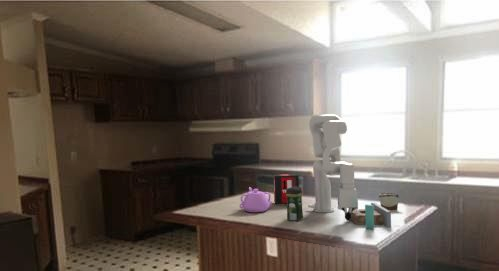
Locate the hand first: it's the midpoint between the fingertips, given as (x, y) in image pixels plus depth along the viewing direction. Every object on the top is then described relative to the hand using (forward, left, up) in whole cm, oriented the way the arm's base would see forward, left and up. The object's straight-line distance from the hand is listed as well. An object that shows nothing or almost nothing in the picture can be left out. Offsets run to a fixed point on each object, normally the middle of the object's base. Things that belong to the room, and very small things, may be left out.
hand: (347, 219), depth 187 cm
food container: (+32, +29, -2) cm, 43 cm away
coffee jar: (-28, +9, -2) cm, 29 cm away
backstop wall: (+18, 0, -1) cm, 18 cm away
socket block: (+10, 0, -1) cm, 10 cm away
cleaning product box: (-29, +54, -2) cm, 61 cm away
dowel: (+7, -14, -1) cm, 16 cm away
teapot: (-51, +36, -2) cm, 62 cm away
